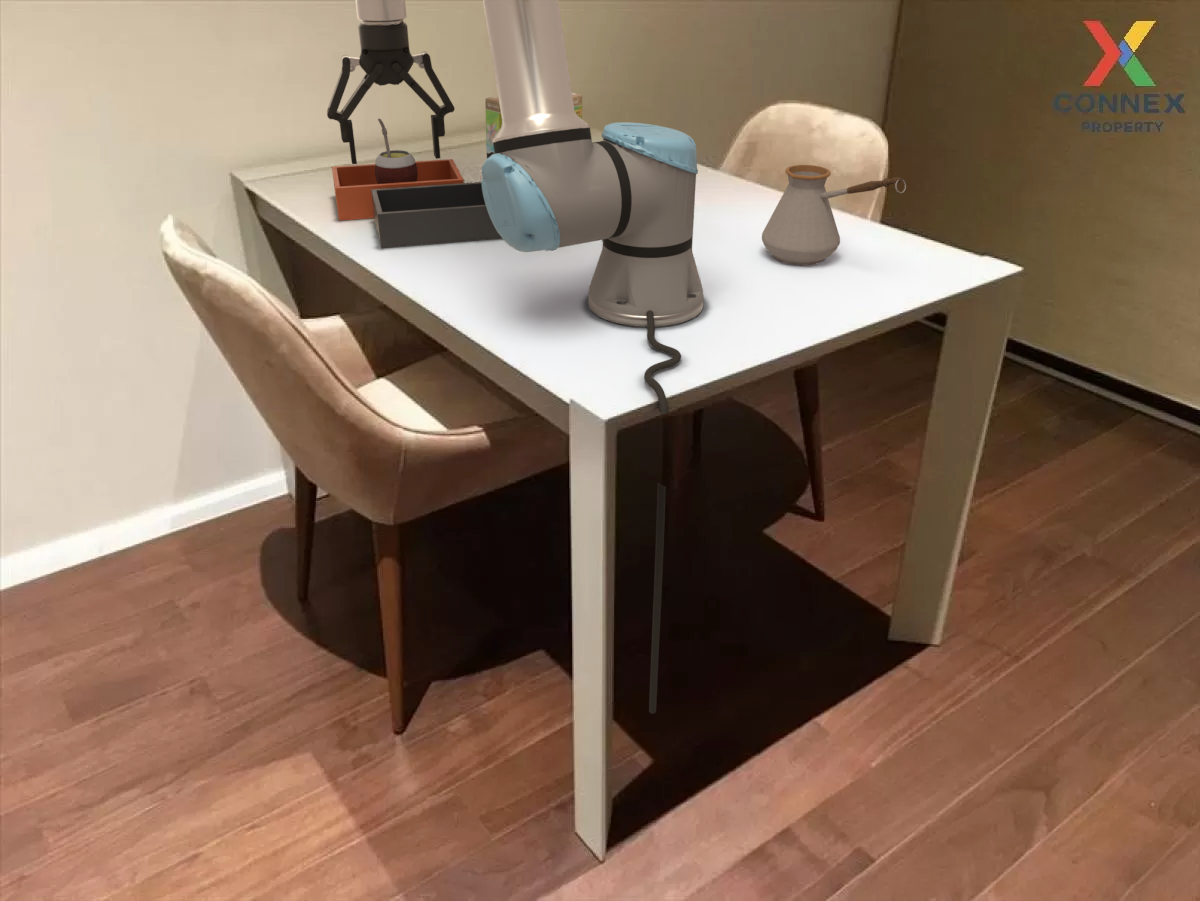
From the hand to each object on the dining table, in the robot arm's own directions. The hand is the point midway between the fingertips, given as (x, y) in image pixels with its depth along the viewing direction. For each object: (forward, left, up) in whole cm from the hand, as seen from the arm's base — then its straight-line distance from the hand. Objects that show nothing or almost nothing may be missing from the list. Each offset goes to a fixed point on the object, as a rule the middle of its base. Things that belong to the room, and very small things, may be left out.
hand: (396, 159), depth 172 cm
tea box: (+10, -25, -8) cm, 28 cm away
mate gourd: (0, 0, -8) cm, 8 cm away
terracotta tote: (0, 0, -8) cm, 8 cm away
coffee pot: (-44, -57, -8) cm, 73 cm away
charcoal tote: (-15, -5, -8) cm, 17 cm away
